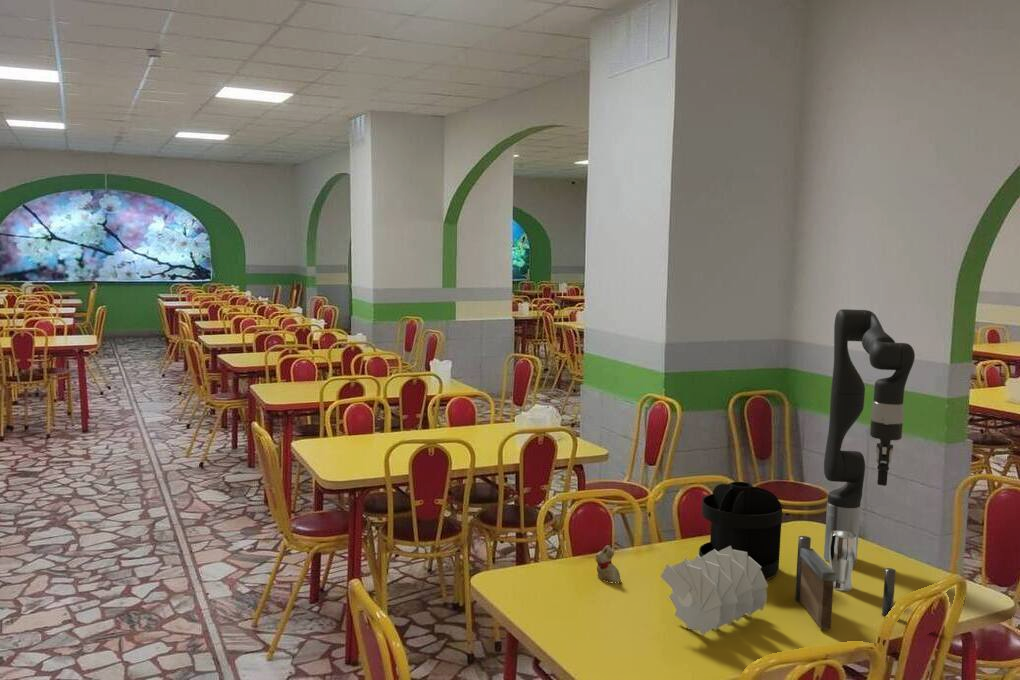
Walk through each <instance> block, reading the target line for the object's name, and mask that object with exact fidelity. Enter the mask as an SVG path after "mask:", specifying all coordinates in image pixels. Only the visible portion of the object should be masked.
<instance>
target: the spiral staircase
mask: <svg viewBox="0 0 1020 680" xmlns="http://www.w3.org/2000/svg"><path fill="white" fill-rule="evenodd" d="M760 569H761V566H760V565H759V564H758V563H757V562H755V561H754V560H753V559H752V558H751V557H750V556H748V558H747V552H743V551H738V550H732V547H731V546H729V547H727V548H724V549H722V550H720V551H716V550H715V549H714V550H712V551H710V552H709V553H707V554H705V555H704V556H702V557H700V556H699V554H696V556H695V558H694V559H692V560H689V559H688V558H685V559H684V560H683V561H681V562H679V563H677V564H675V565H672V566H671V564H669V563H667V564H666V565H665V568H664V569H663V572H662V574H661V575H660V577H661V579H662V580H663V581H664V582H665V583H666V584H667V585H668V586H669V587H670V588H671V591H672V593H671V594H670V595H668V597H669V599H670V601H671V602H672V604H673V606H674V608H675V609H676V610H675V614H674V616H675V617H676V618H678V619H679V620H681V621H682V622H683V623H685V624H686V629H687V628H688V629H691V630H690V631H698V632H700V634H701V636H703V635H706V633H708V632H709V631H711V630H714V631H717V629H720V628H721V627H723V626H725V625H727V626H728V627H731V625H732V623H733V622H734V621H733V620H735V621H736V622H738V621H739V620H740V619H741V618H742V617H743V616H745V614H747V615H748V617H749V616H751V615H752V614H754V613H756V612H757V611H758V610H760V611H763V610H764V608H765V604H767V598H768V595H767V587H769V584H768V582H767V579H766V580H765V578H764V575H763V573H762V571H761V570H760Z"/></svg>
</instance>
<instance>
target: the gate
mask: <svg viewBox="0 0 1020 680" xmlns="http://www.w3.org/2000/svg"><path fill="white" fill-rule="evenodd" d="M800 556H801V557H802V569H801V586H800V602H801V604H802V606H803V607H804V608H805V609H806V611H807V612H808V613H809V614H810V616H811V617H812V619H813V621H814V622H816V624H817V626H818V628H819V629H821V630H823V629H824V630H831V627H832V614H833V612H832V611H833V599H834V598H833V597H834V589H833V585H834V581H835V574H836V573H835V572H834V571H833V570H832V569H831V568H830V564H828V563H827V562H826V561H825V559H824V558H822V557H821V556H820V554H818V553H817V552H816V550H814V549H813V548H810V549H808V548H801V554H800ZM800 602H799V603H800Z"/></svg>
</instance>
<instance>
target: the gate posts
mask: <svg viewBox="0 0 1020 680" xmlns="http://www.w3.org/2000/svg"><path fill="white" fill-rule="evenodd" d="M797 544H798V545H797V558H796V559H797V560H796V575H795V576H796V577H795V593H794V601H795V602H798V603H800V586H801V569H802V557H801V556H800V554H801V548H808V549H811V544H812V539H811V537H810V536H807V535H799V536H798V543H797ZM896 573H897V572H896V568H895V569H894V568H892V567H886V568H885V569H884V581H883V582H884V583H883V585H884V586H883V597H882V610H881V611H882V612H881V616H882V617H885V616H886V615H887V614H888V612H889V611H890V610H891V608H892V607H893V608H894V601H895V600H894V596H895V585H896ZM885 618H886V617H885Z"/></svg>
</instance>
